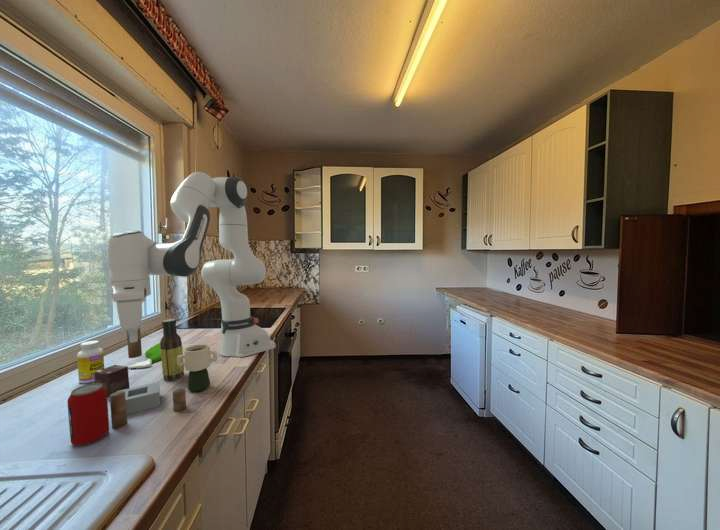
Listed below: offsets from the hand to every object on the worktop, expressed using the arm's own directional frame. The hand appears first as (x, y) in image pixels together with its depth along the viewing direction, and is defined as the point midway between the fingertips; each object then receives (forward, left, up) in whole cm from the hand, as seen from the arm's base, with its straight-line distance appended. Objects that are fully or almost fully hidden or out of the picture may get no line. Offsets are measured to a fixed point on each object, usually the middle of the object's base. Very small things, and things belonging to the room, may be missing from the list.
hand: (134, 339), depth 84 cm
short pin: (-10, +9, -19) cm, 23 cm away
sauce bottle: (-9, -16, -19) cm, 26 cm away
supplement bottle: (+14, -31, -19) cm, 39 cm away
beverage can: (+9, +12, -19) cm, 24 cm away
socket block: (0, 0, -19) cm, 19 cm away
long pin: (0, 0, -5) cm, 5 cm away
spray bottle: (-4, -44, -20) cm, 48 cm away
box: (+7, -15, -19) cm, 25 cm away
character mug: (-15, -2, -19) cm, 24 cm away
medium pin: (+3, +9, -19) cm, 21 cm away
